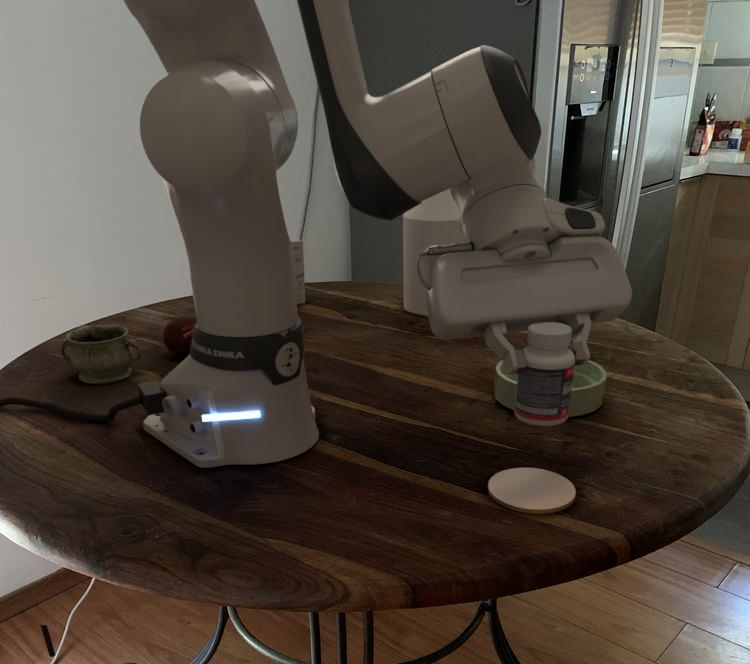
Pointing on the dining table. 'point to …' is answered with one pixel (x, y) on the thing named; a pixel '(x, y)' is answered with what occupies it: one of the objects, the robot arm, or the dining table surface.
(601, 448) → the dining table surface
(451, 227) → the bottle
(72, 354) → the vessel
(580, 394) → the bowl
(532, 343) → the pill bottle
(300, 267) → the ink box
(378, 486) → the dining table surface
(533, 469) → the coaster
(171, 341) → the red tomato
